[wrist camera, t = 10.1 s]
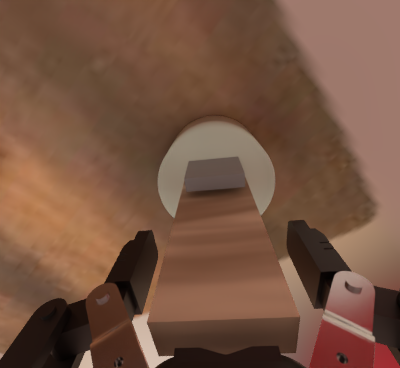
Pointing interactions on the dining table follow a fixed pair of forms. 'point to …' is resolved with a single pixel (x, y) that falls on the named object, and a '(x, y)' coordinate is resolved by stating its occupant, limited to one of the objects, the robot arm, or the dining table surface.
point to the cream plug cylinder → (215, 162)
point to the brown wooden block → (221, 279)
